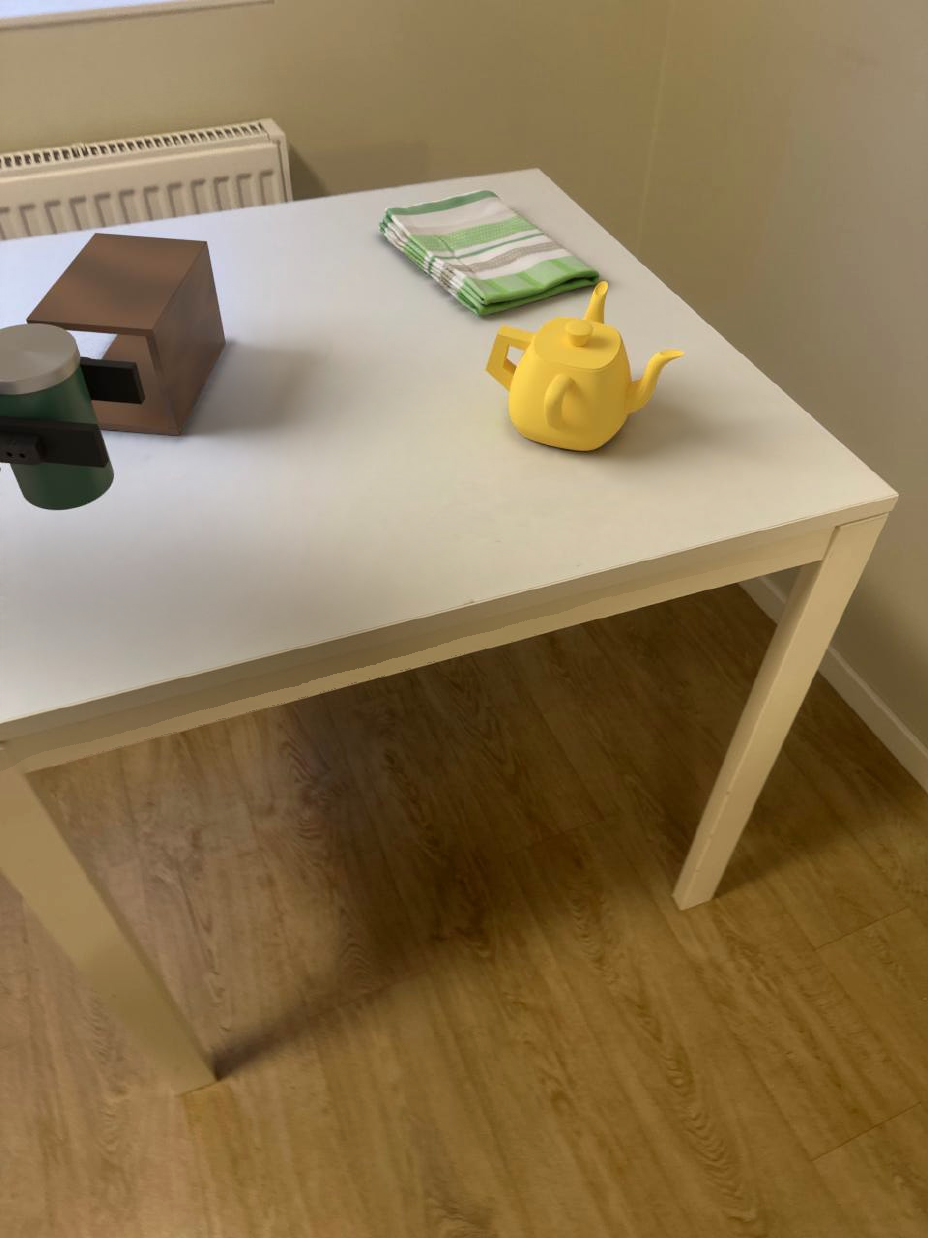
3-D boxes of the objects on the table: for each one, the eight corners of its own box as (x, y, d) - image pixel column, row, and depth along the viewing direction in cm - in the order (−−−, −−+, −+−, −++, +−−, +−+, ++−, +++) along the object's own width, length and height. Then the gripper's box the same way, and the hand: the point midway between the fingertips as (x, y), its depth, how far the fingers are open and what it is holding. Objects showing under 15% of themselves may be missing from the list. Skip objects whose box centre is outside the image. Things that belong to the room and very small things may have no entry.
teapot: (665, 441, 88) (687, 348, 80) (540, 477, 84) (551, 382, 76) (592, 365, 96) (605, 275, 88) (474, 395, 92) (478, 302, 84)
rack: (123, 334, 97) (94, 232, 89) (226, 343, 97) (207, 240, 89) (63, 426, 87) (25, 318, 79) (178, 436, 86) (152, 329, 78)
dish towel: (491, 205, 120) (493, 177, 117) (603, 283, 107) (607, 253, 105) (375, 237, 114) (373, 208, 111) (479, 323, 101) (480, 293, 98)
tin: (29, 524, 60) (-27, 392, 53) (10, 468, 64) (-46, 337, 56) (128, 494, 62) (87, 364, 55) (103, 442, 66) (62, 313, 59)
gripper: (-127, 354, 69) (179, 380, 68) (-295, 525, 56) (79, 561, 55) (-176, 257, 63) (157, 283, 62) (-375, 422, 50) (39, 459, 49)
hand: (120, 413), depth 58 cm, fingers closed on tin, 6 cm apart
